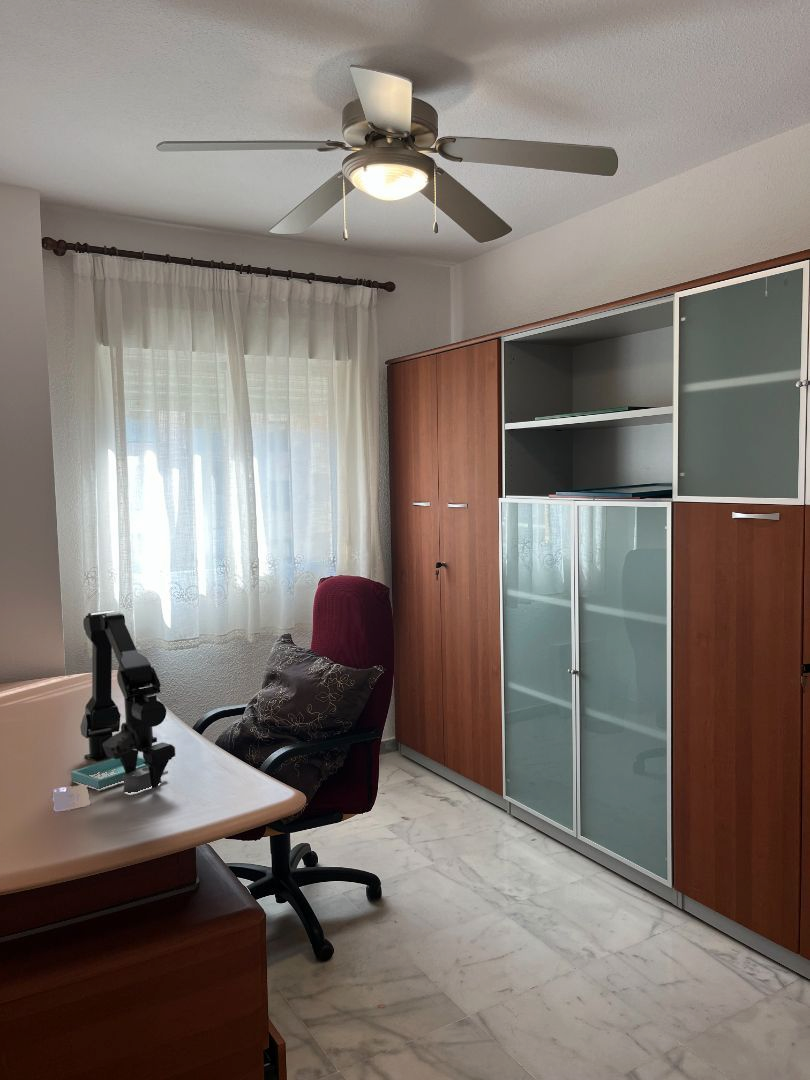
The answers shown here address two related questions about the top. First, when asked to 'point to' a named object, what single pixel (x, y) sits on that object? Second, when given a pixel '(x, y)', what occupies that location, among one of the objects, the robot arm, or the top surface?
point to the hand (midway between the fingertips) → (142, 783)
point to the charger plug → (138, 780)
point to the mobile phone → (63, 798)
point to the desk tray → (103, 767)
